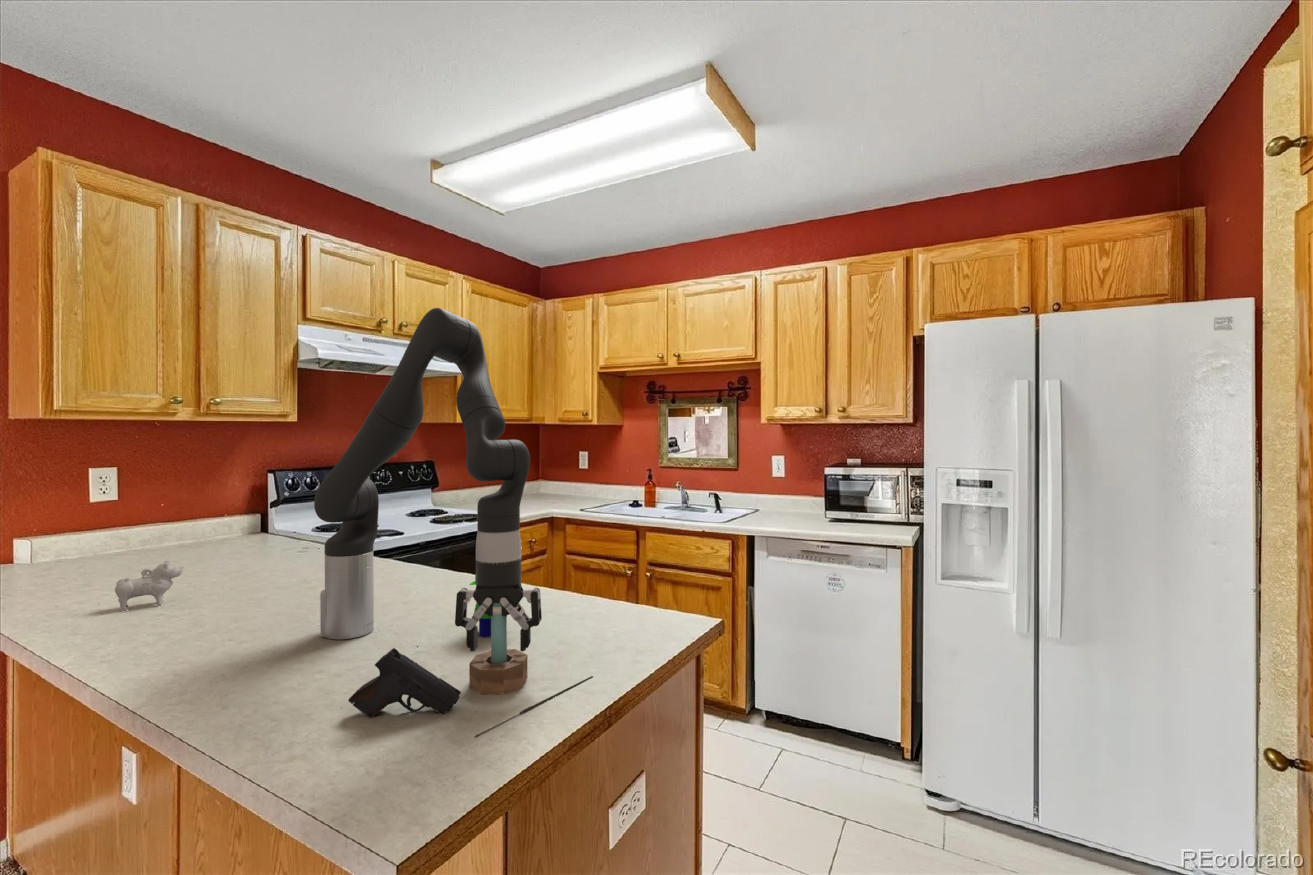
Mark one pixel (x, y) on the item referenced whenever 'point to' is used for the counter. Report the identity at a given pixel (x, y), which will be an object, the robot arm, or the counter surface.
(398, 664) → the handgun
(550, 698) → the paintbrush
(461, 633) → the counter surface
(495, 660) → the teal capped tube
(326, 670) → the counter surface
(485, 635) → the toy
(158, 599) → the grey pig charm
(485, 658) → the bead
